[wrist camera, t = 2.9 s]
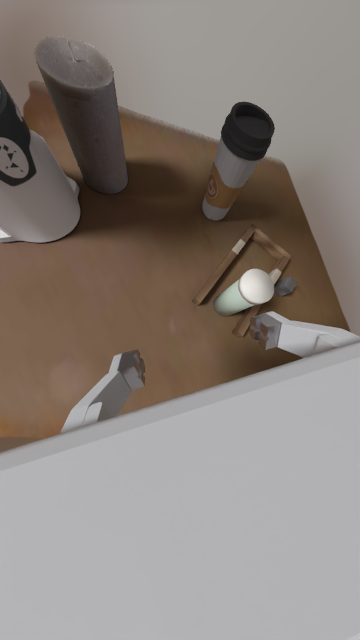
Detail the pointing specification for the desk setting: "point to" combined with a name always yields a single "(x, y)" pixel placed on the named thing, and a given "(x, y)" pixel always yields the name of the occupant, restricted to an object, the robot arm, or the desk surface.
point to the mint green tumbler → (245, 293)
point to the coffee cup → (236, 156)
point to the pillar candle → (86, 108)
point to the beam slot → (282, 286)
